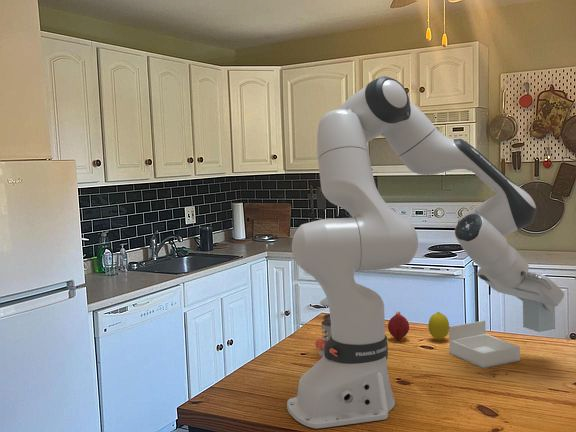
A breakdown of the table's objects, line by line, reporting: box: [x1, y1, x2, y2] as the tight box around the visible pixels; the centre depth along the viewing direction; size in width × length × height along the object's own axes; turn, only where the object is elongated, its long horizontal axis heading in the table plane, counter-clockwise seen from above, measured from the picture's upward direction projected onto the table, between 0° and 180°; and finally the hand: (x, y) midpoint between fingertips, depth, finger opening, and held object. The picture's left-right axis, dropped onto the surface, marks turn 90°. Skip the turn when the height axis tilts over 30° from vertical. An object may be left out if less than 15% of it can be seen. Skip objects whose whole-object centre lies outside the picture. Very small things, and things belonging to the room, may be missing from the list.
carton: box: [522, 298, 556, 333], centre depth 142 cm, size 5×5×10 cm
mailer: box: [448, 320, 521, 370], centre depth 147 cm, size 11×13×7 cm
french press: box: [318, 297, 331, 358], centre depth 154 cm, size 10×12×25 cm
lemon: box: [427, 311, 450, 341], centre depth 162 cm, size 6×6×8 cm
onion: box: [387, 310, 410, 341], centre depth 164 cm, size 6×6×8 cm
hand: (540, 305), depth 142 cm, fingers closed on carton, 5 cm apart
